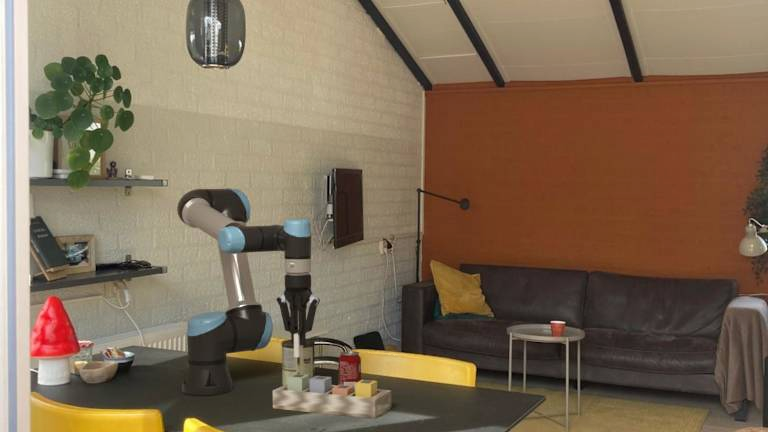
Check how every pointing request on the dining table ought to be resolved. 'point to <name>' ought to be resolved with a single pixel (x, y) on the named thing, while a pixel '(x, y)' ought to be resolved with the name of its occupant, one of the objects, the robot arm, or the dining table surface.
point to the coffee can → (297, 360)
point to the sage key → (298, 382)
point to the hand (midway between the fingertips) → (298, 356)
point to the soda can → (349, 368)
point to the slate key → (320, 384)
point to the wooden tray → (332, 402)
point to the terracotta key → (343, 390)
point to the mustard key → (366, 388)
